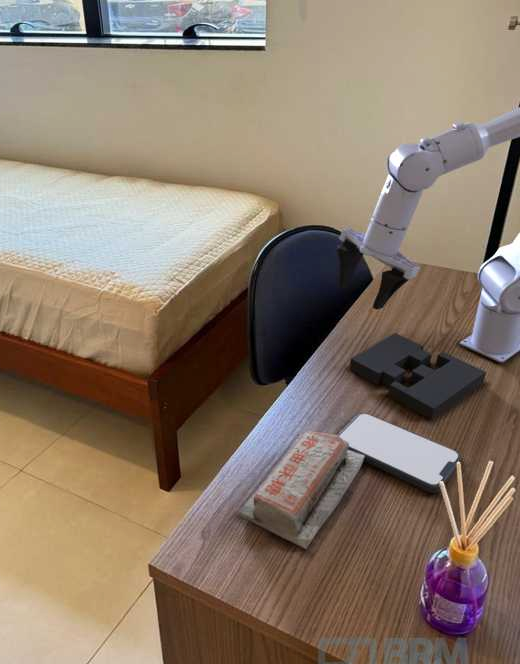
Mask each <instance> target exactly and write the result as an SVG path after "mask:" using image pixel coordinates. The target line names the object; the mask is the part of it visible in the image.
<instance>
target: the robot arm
mask: <svg viewBox="0 0 520 664" xmlns="http://www.w3.org/2000/svg"><path fill="white" fill-rule="evenodd" d="M517 138H520V106H519V107H516V108H515V109H513V110H511V111H509V112H507V113H504V114H502V115H500V116H499V117H496V118H493V119H492V120H490V121H487V122H486V123H484V124H481V125H479V124H477V123H475V122H472V121H468V122H463V121H462V120H461V121H457V122H455V123H453V124H452V128H451V129H449V130H446V131H444V132H442V133H439V134H437V135H434V136H431V137H428V136H425V137H422V138H421V139H420V142H419V143H417V142H416V143H415V142H414V143H413V142H408V143H403V144H402V145H399V146H398V147H397V148H395V151H393V152H392V153H391V155H388V156H387V158H386V169H387V172H388V175H387V177H386V180H385V183H384V185H383V187H382V190H381V193H380V194H379V198H378V200H377V202H376V206H375V208H374V211H373V213H372V216H371V219H370V221H369V224H368V227H367V229H366V232H365V234H364V233H361V232H359V231H356V230H355V229H352V228H351V227H348V228H342V230H341V233H340V235H339V238H338V240H340V242H343V243H342V244H339V245H337V249H336V251H337V255H338V260H339V277H338V287H340V288H344V287H347V286H349V285H350V284H351V282H352V280H353V277H354V275H355V273H356V270H357V266H358V265H359V263H360V262H361V260H362V258H363V256H366V257H371V258H373V259H375V260H377V261H379V262H380V263H382V264H384V265H385V266H387V267H389V268H390V269H388V270H385V271H382V273H381V279H380V284H379V287H378V288H379V289H378V292H377V294H376V297H375V299H374V301H373V305H372V308H373V309H374V310H376V311H377V310H380V309H383V308H384V307H385V305H386V304H387V303H388V301H389V300H390V298H391V297H392V296H393V295H394V294H395V293H396V292H397V291H398V290H399V289H400V288H401V287H402V286H403V285H405V284H406V283H407V282H409V281H410V280H413V279H416V278H417V275H418V273H419V271H420V266H419V265H417V264H415V263H414V262H413V261H411V260H410V259H408V258H407V256H405V255H404V254H402V253H401V252H400V251H399V250H400V247H401V245H402V243H403V240H404V238H405V236H406V233H407V231H408V229H409V226H410V224H411V221H412V219H413V217H414V214H415V212H416V209H417V207H418V205H419V202H420V199H421V197H422V195H423V192H424V190H427V189H429V188H430V187H433V185H434V184H435V183H436V181H437V179H438V178H439V177H441V176H443V175H446V174H448V173H450V172H452V171H456V170H458V169H460V168H462V167H466V166H468V165H470V164H473V163H476V162H478V161H480V160H483V158H484V157H485V155H486V154H487V152H488V150H489V149H490V148H491V147H494V146H497V145H500V144H503V143H506V142H508V141H509V142H510V141H512V140H514V139H517ZM477 282H478V283H479V285H480V286H481V287H482V288H481V291H480V292H481V294H480V297H479V302H478V306H477V311H476V314H475V315H476V316H475V320H474V324H473V329H472V334H471V335H469V336H468V337H465V338H464V339H462V340H461V341H460V343H459V345H461V346H462V347H465V348H467V349H469V350H472V351H474V352H476V353H478V354H480V355H482V356H485V357H487V358H489V359H491V360H493V361H496V362H498V363H502V364H503V363H504V362H506V361H507V360H509V359H510V358H511V357H512V356H513V357H514V355H515V354H517V353H519V352H520V232H519V233H518V235H517V236H516V238H515V239H514V241H513V242H512V243H509V244H507V245H504V246H500V247H499V248H498V249H497V251H496V252H495V254H494V255H492V257H490V258H489V259H487V260H486V261H485V262H484V263H482V265H481V266H480V267H479V269H478V272H477Z"/></svg>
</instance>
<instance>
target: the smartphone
mask: <svg viewBox="0 0 520 664" xmlns="http://www.w3.org/2000/svg"><path fill="white" fill-rule="evenodd" d="M336 435H337V436H339V437H340V438H342V439H343V440H345V441H347V442H348V443H349V446H348V450H350V451H353V452H356V453H359V454H362V455H364V456H365V457H364V460H363V463H364V462H365V463H366V464H369V465H370V466H372V467H375V468H376V469H379V470H381V471H383V472H385V473H387V474H389V475H391V476H394V477H396V478H398V479H400V480H402V481H404V482H406V483H409V484H410V485H413V486H415V487H417V488H419V489H421V490H423V491H425V492H428V493H430V494H438V493H440V492H442V490H440V487H439V481H443V482H444V484H445V486H446V485H447V484H448V483H449V480H450V479H451V478H452V476H453V475H454V474H455V472H456V471H457V469H456V463H457V462H458V461H459V462H460V464H462V454H460V452H459V451H457V450H455V449H453V448H450V447H448V446H445V445H443V444H441V443H438V442H436V441H434V440H432V439H430V438H427V437H424V436H422V435H419V434H417V433H414V432H412V431H410V430H408V429H405V428H403V427H400V426H398V425H396V424H393V423H391V422H389V421H387V420H384V419H381V418H379V417H377V416H375V415H372V414H370V413H367V412H361V413H357V414H356V415H355V416H354V417H353V418H352V419H351V420H350V421H349V422H348V424H346V425H345V426H344V427H343V428H342V429H341V431H340V432H338V434H336Z"/></svg>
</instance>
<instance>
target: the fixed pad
mask: <svg viewBox="0 0 520 664" xmlns="http://www.w3.org/2000/svg"><path fill="white" fill-rule="evenodd" d="M435 367H437V369H436V370H435V369H432V368H431V367H430V366H428V367H427V366H425V365H423V364H422V365H421V366H419V367H417V368H416V369H412V371H411V375H410V383H411V384H413V385H412V386H410V387H407V386H405V385H404V384H403V383H401V384H400V383H398V382H396V381H395V382H394V383H392V384H391V385H390V387H389V392H388V397H390V398H391V399H393V400H394V401H396V402H398V403H400V404H401V405H403V406H405V407H407V408H409V409H411V410H412V411H414V412H416V413H417V414H418V415H421V416H422V417H425V418H426V419H428V420H429V421H433V420H435V419H436V418H437V417H439V416H440V415H442V414H443V413H445V412H446V411H447V410H449V409H450V408H451V407H453V406H454V405H455V404H457V403H458V402H459V401H461V400H462V399H464V398H466V397H467V396H469V394H471V393H472V392H474V391H475V390H476V389H478V388H479V387H480V386H482V385H484V384H485V383H484V382H485V379H486V375H487V371H486V370H483V369H480V368H478V367H476V366H475V365H472V364H470V363H468V362H466V361H463V360H461V359H460V358H458V357H456V356H453V355H451V354H449V353H447V352H445V351H441V352H439V353H438V354H437V357H436V361H435Z"/></svg>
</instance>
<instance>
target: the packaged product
mask: <svg viewBox="0 0 520 664" xmlns="http://www.w3.org/2000/svg"><path fill="white" fill-rule="evenodd" d="M337 435H338V434H334V433H327V432H326V433H325V432H318V431H315V430H306V431H304V432H303V433H301V434H300V435H299V436H298V438H297V439H295V441H294V442H293V443H292V445H291V446H290V448H289V449H288V450H287V451H286V453H284V455H283V456H282V457H281V459H280V460H279V461H278V463H276V465H275V466H274V467H273V469H272V470H271V471H270V472H269V474H268V476H267V478H264V480H263V482H262V483H261V484H260V485H259V486H258V487H257V489H256V490H255V492H254V493H253V494H252V495H251V497H250V498H249V499H248V500H247V502H246V503H245V504H244V505H243V506H242V507H241V509H240V511H239V512H238V514H239V516H240V517H242V518H243V519H244V520H245V519H246V520H247V521H249V522H251V523H253V524H255V525H257V526H258V527H261V528H263V529H264V530H266V531H269V532H271V533H273V534H275V535H276V536H278V537H281V538H283V539H285V540H286V541H289V542H290V543H293V544H295V545H297V546H299V547H301V548H303V549H304V550H307V549H308V547H309V546H310V544H311V542H312V541H313V539H314V538H315V536H316V534H318V532H319V531H320V529H322V527H323V525H324V524H325V522H326V521H327V520H328V519H329V517H330V516H331V515H332V513H333V512H334V510H335V509H336V508H337V506H339V504H340V502H341V500H342V499H343V497H344V495H345V493H346V492H347V490H348V489H349V487H350V485H351V484H352V482H353V480H354V479H355V477H356V476H357V474H358V472H359V471H360V469H361V467H362V465H363V463H364V461H363V460H364V457H365V456H364V455H362V454H359V453H356V452H353V451H350V450H348V446H349V443H348V442H347V441H345V440H343V439H342V438H340V437H339V436H337Z"/></svg>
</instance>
